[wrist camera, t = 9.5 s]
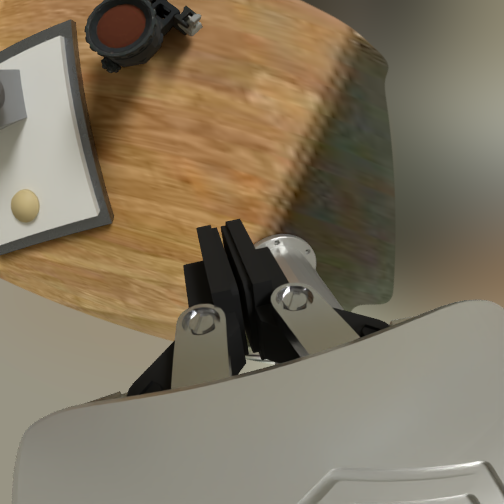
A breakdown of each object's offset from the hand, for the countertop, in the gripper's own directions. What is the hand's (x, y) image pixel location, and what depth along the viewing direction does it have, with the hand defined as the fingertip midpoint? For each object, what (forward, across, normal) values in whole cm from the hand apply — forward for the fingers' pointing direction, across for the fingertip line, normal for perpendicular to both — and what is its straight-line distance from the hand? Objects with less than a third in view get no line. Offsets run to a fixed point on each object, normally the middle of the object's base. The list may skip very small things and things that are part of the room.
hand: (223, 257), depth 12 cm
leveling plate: (+25, +21, -5) cm, 33 cm away
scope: (+27, +3, -13) cm, 30 cm away
